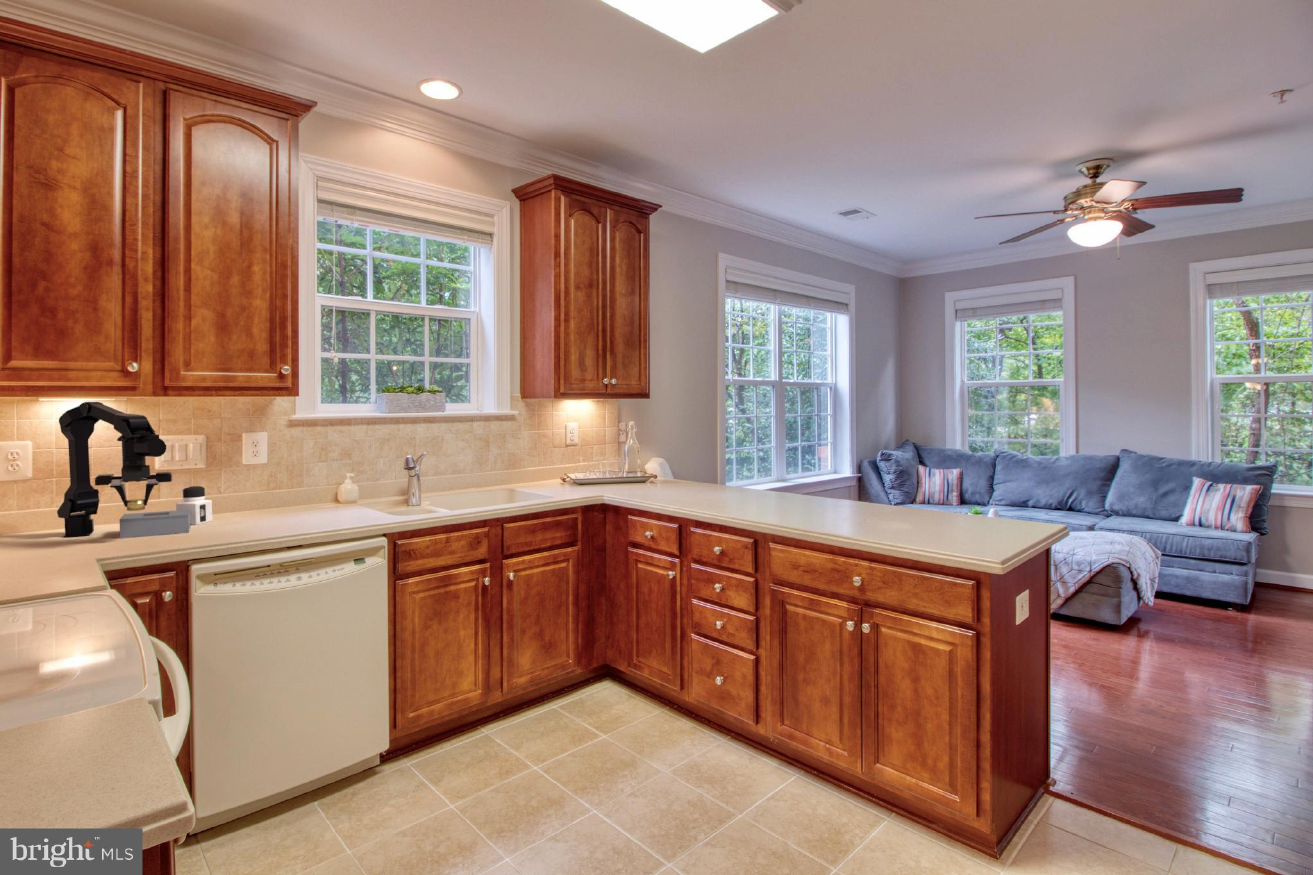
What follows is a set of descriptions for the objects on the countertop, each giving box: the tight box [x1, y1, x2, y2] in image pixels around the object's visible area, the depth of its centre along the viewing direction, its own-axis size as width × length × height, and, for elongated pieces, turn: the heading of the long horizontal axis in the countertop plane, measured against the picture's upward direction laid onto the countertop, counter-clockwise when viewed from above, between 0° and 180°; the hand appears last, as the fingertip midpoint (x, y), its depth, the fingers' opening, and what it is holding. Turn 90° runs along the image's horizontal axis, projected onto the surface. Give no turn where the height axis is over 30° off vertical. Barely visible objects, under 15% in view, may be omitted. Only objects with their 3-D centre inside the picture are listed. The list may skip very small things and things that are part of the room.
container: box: [175, 485, 213, 526], centre depth 245 cm, size 8×8×13 cm
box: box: [119, 509, 191, 539], centre depth 228 cm, size 18×12×6 cm, turn 122°
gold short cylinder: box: [126, 498, 146, 512], centre depth 213 cm, size 4×4×3 cm
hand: (135, 506), depth 213 cm, fingers closed on gold short cylinder, 4 cm apart
